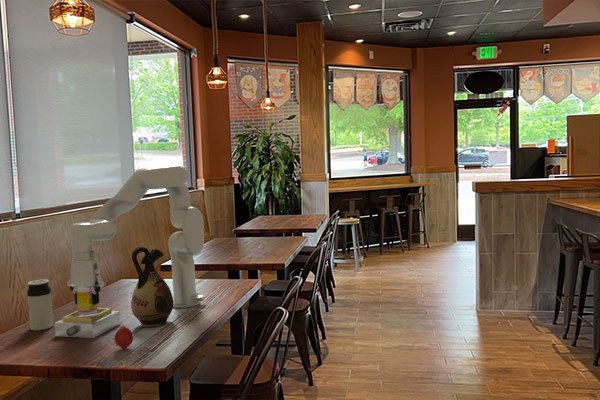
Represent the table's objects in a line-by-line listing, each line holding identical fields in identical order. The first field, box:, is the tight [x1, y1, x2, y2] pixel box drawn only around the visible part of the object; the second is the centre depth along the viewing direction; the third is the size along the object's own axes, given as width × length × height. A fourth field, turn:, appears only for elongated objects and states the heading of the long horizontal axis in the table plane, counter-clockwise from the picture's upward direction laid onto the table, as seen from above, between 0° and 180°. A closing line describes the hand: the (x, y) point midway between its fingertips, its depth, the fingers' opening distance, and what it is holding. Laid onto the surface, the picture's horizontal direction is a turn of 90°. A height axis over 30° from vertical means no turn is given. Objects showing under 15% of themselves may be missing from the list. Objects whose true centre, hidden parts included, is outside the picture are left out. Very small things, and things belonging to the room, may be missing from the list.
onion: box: [114, 324, 134, 350], centre depth 165 cm, size 6×6×8 cm
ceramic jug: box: [130, 246, 174, 328], centre depth 189 cm, size 17×15×30 cm
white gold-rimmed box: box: [53, 307, 121, 339], centre depth 186 cm, size 16×18×6 cm
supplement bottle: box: [76, 282, 98, 315], centre depth 186 cm, size 7×7×13 cm
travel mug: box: [26, 278, 54, 332], centre depth 192 cm, size 8×8×18 cm
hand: (87, 303), depth 186 cm, fingers closed on supplement bottle, 6 cm apart
